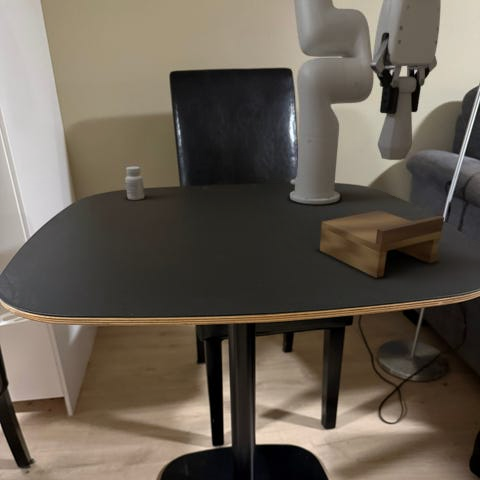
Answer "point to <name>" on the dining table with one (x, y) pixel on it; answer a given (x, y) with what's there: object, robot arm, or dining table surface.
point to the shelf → (379, 239)
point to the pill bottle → (134, 183)
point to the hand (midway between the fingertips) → (398, 111)
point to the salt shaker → (398, 124)
